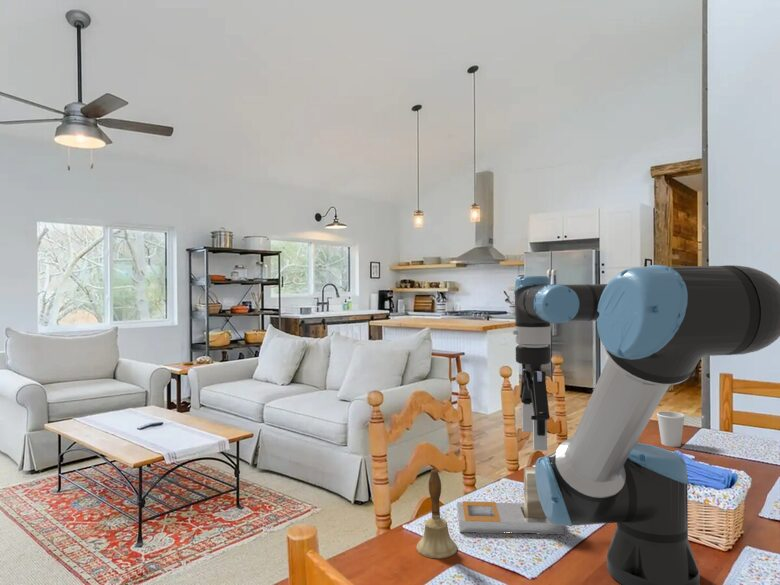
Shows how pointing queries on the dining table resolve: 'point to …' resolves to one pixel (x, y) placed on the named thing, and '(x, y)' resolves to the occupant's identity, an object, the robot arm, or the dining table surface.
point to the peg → (531, 495)
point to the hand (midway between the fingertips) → (533, 440)
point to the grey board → (501, 519)
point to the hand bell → (436, 527)
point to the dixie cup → (670, 428)
